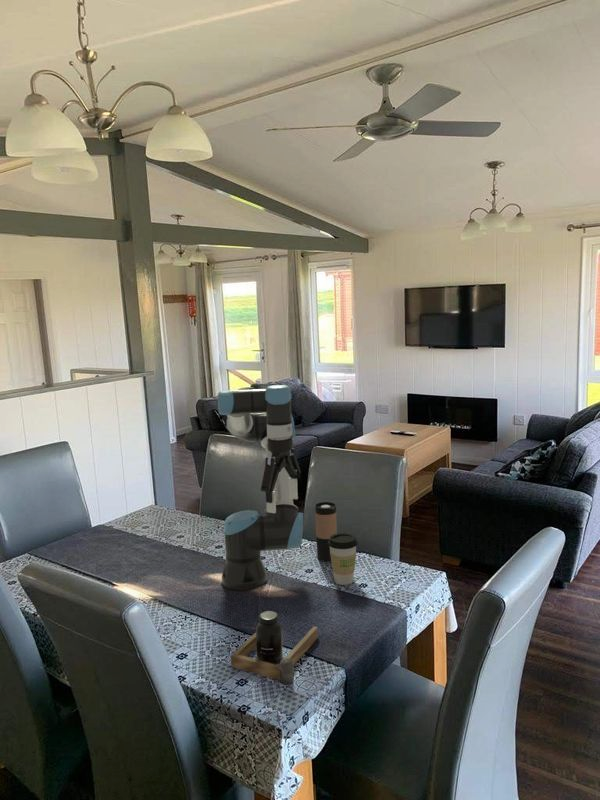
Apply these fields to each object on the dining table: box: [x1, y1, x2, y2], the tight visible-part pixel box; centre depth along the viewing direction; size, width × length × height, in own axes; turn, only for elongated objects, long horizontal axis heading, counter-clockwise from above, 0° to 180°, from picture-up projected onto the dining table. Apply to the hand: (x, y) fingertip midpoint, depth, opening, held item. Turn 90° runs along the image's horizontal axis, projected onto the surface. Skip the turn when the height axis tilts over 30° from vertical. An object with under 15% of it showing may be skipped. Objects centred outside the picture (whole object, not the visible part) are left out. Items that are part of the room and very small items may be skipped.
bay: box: [230, 626, 319, 685], centre depth 154 cm, size 17×22×5 cm
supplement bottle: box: [255, 610, 284, 665], centre depth 152 cm, size 7×7×12 cm
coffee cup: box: [328, 532, 359, 586], centre depth 194 cm, size 10×10×15 cm
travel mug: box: [314, 501, 338, 563], centre depth 213 cm, size 8×8×20 cm
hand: (282, 505), depth 178 cm, fingers open, 13 cm apart
